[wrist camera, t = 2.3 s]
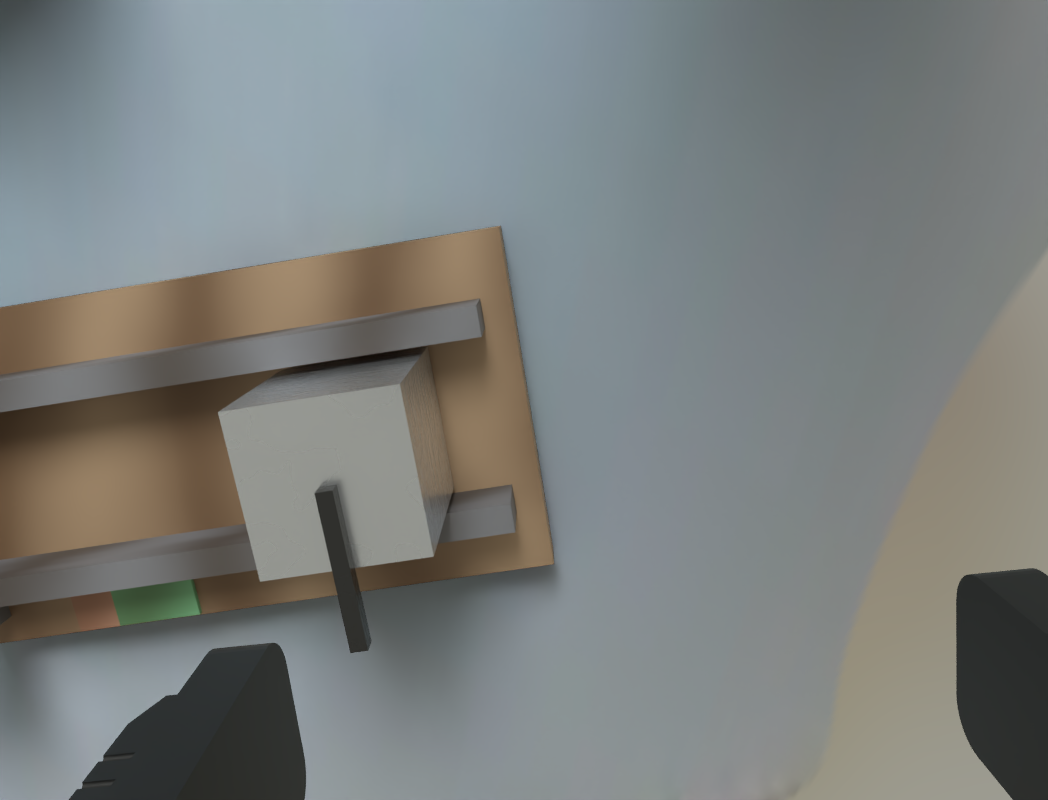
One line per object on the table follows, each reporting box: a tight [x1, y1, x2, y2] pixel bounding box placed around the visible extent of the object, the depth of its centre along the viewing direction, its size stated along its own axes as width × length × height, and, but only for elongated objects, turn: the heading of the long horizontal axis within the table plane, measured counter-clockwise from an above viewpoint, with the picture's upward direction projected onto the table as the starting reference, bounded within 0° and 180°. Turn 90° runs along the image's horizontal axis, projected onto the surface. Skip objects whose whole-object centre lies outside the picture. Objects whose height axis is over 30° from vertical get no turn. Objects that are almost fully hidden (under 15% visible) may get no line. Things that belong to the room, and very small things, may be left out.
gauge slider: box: [218, 347, 454, 653], centre depth 26 cm, size 5×7×6 cm
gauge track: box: [0, 226, 554, 643], centre depth 27 cm, size 22×12×8 cm, turn 99°
